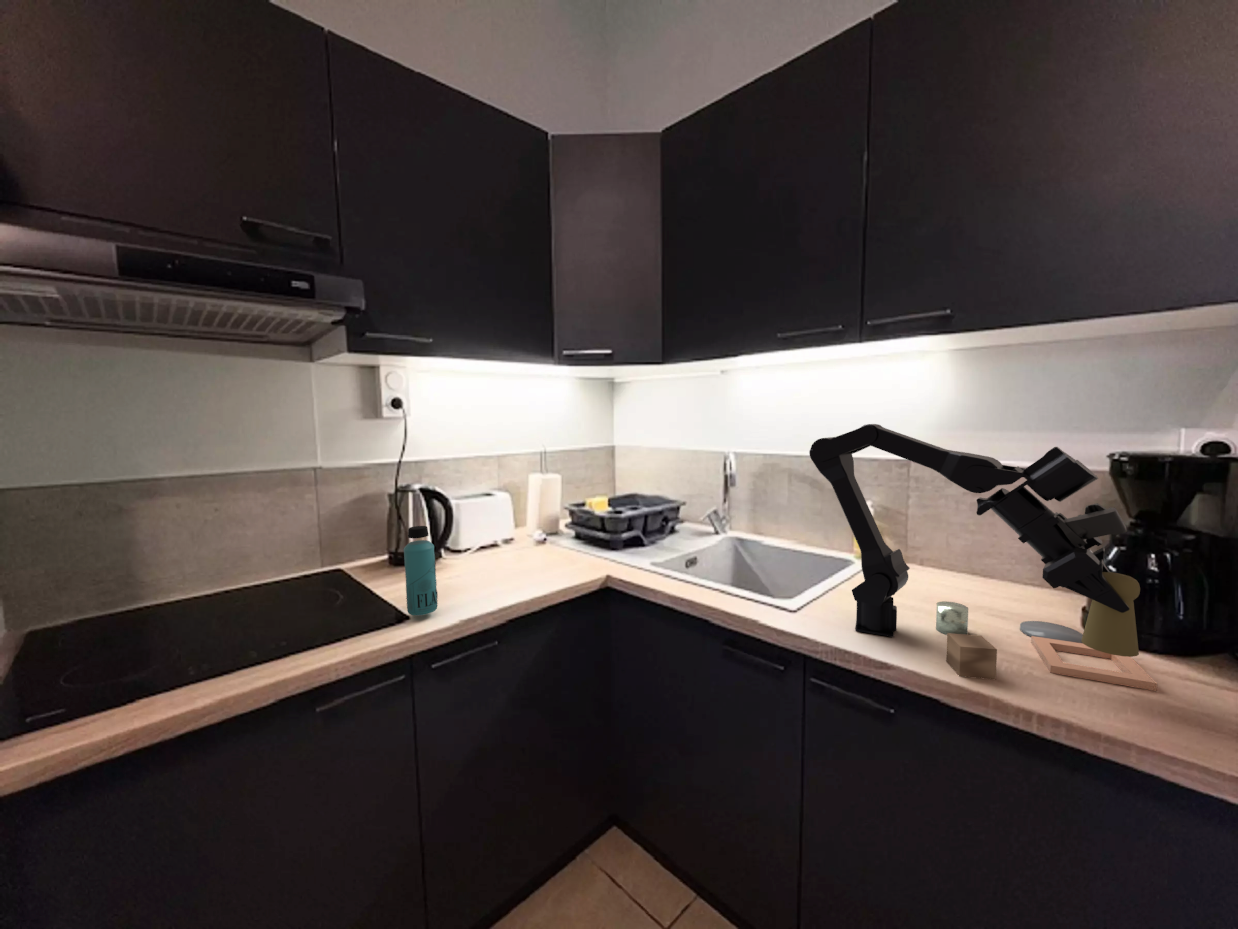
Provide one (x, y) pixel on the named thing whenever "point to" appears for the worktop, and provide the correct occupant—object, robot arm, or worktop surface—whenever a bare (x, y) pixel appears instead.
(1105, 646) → the olive pepper mill
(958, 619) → the sage tin
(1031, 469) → the robot arm
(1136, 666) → the hole frame
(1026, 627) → the slate coaster
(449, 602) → the worktop surface
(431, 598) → the beverage bottle
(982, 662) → the walnut block
